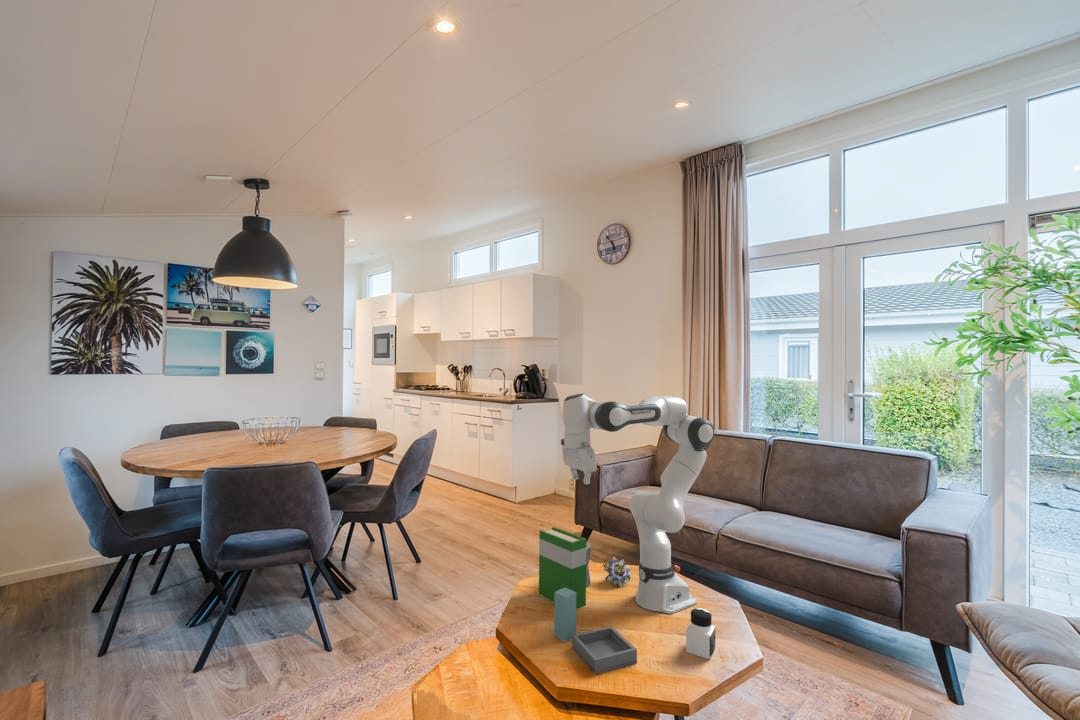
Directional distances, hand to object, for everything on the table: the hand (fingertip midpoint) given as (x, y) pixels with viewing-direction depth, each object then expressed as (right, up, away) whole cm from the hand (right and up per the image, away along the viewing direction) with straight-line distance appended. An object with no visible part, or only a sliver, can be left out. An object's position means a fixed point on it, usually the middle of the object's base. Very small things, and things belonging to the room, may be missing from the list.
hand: (581, 481), depth 169 cm
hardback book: (-6, -48, +14) cm, 50 cm away
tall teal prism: (-6, -47, -11) cm, 49 cm away
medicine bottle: (+35, -47, -19) cm, 62 cm away
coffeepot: (+2, -48, +29) cm, 56 cm away
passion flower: (+17, -48, +29) cm, 58 cm away
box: (+5, -47, -22) cm, 52 cm away
